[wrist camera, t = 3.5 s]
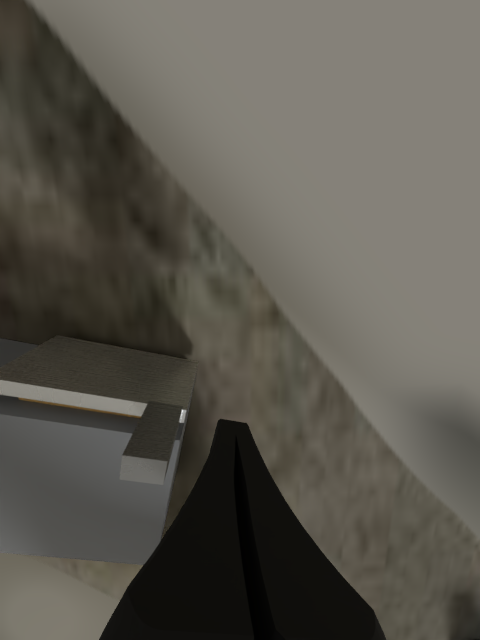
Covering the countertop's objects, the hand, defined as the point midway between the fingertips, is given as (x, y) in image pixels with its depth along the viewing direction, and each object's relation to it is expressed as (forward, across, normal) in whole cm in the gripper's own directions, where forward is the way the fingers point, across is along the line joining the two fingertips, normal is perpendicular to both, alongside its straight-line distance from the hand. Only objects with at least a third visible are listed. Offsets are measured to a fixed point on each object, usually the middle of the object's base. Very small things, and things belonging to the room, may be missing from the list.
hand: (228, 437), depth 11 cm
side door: (+6, +7, 0) cm, 9 cm away
